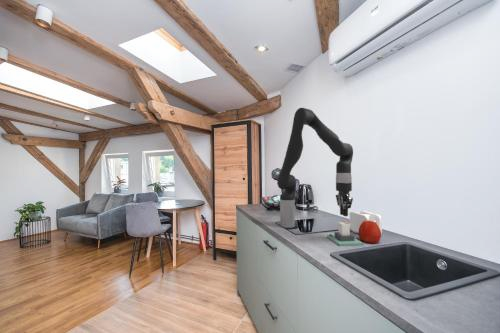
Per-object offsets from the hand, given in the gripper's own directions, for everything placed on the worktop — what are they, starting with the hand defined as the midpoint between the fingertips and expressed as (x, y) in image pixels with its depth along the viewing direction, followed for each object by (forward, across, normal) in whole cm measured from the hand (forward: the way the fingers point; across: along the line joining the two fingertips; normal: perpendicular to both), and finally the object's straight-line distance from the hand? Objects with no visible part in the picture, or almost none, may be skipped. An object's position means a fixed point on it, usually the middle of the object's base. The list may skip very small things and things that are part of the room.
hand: (344, 215), depth 114 cm
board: (+13, 0, 0) cm, 13 cm away
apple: (+13, +1, +13) cm, 19 cm away
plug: (+12, 0, 0) cm, 12 cm away
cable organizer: (+13, -12, +18) cm, 26 cm away
